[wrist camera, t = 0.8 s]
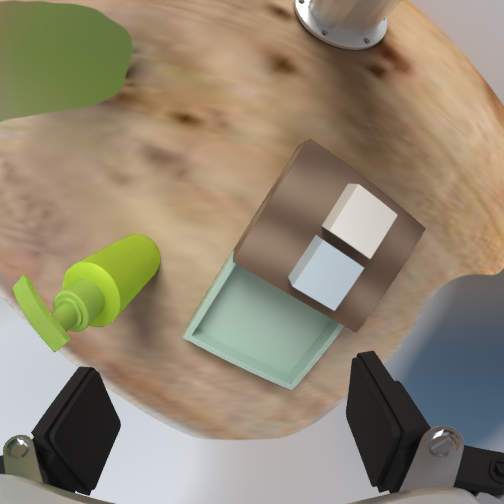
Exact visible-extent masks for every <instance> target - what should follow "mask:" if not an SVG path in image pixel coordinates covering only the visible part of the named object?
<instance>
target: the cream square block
mask: <svg viewBox="0 0 504 504" xmlns="http://www.w3.org/2000/svg"><path fill="white" fill-rule="evenodd" d="M396 217H397V214H396V213H395V212H394V211H392V210H391V209H390V208H389V207H387V206H386V205H385V204H384V203H382V202H381V201H380V200H379V199H377V198H376V197H375V196H374V195H372V194H371V193H370V192H368V191H367V190H366V189H364V188H363V187H362V186H361V185H359V184H348V185H347V186H346V188H345V190H344V191H343V193H342V194H341V196H340V198H339V199H338V201H337V202H336V204H335V206H334V207H333V209H332V210H331V212H330V214H329V215H328V217H327V218H326V220H325V221H324V223H323V225H322V227H324V228H325V229H327V230H328V231H330V232H331V233H333V234H334V235H336V236H337V237H338V238H340V239H341V240H343V241H344V242H346V243H347V244H349V245H350V246H352V247H353V248H354V249H356V250H357V251H359V252H360V253H362V254H363V255H365V256H366V257H368V258H369V259H371V257H372V256H373V254H374V253H375V251H376V249H377V248H378V246H379V245H380V243H381V242H382V240H383V238H384V237H385V235H386V234H387V232H388V230H389V229H390V227H391V225H392V224H393V222H394V220H395V219H396Z"/></svg>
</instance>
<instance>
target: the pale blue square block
mask: <svg viewBox="0 0 504 504" xmlns="http://www.w3.org/2000/svg"><path fill="white" fill-rule="evenodd" d="M363 269H364V267H362V266H361V265H360V264H359V263H357V262H356V261H355V260H353V259H352V258H350V257H349V256H347V255H346V254H344V253H343V252H341V251H340V250H338V249H337V248H335V247H334V246H332V245H331V244H329V243H328V242H326V241H325V240H323V239H322V238H320V237H319V236H317V235H315V237H314V238H313V240H312V242H311V243H310V245H309V246H308V248H307V249H306V251H305V252H304V254H303V255H302V257H301V258H300V260H299V261H298V263H297V264H296V266H295V267H294V269H293V270H292V272H291V273H290V275H289V276H288V278H289V280H290V282H291V285H292V286H293V287H294V288H296V289H298V290H299V291H301V292H303V293H304V294H306V295H308V296H310V297H311V298H313V299H315V300H316V301H318V302H320V303H322V304H323V305H325V306H327V307H328V308H330V309H332V310H334V311H335V310H336V308H337V307H338V305H339V304H340V303H341V301H342V300H343V298H344V297H345V296H346V294H347V293H348V291H349V290H350V289H351V287H352V286H353V284H354V283H355V281H356V280H357V278H358V277H359V275H360V274H361V272H362V271H363Z"/></svg>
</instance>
